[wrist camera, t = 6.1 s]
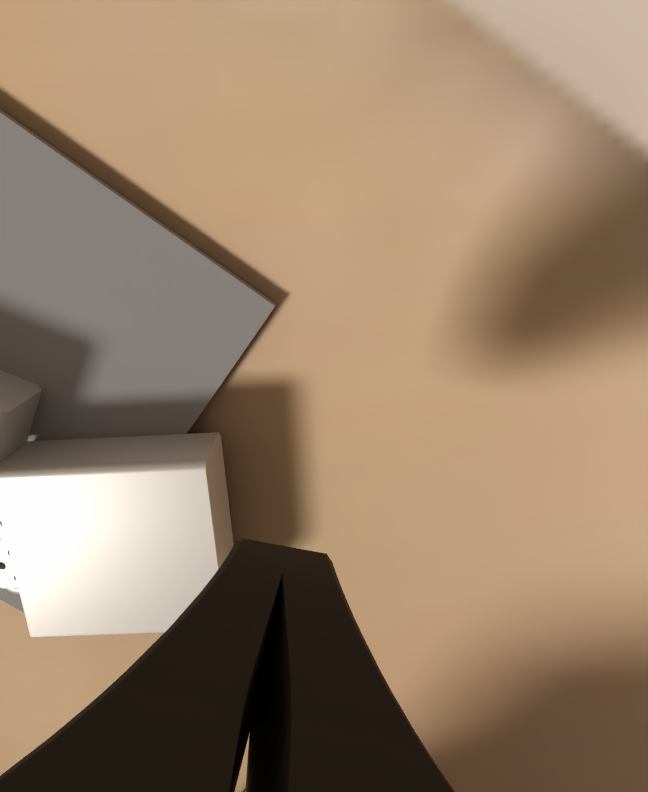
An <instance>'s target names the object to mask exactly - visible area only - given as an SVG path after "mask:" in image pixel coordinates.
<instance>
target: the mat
mask: <svg viewBox="0 0 648 792" xmlns="http://www.w3.org/2000/svg"><path fill="white" fill-rule="evenodd" d="M275 306H276V303H274V302H273V301H272V300H270V299H269V298H267V297H266V296H265V295H263V294H262V293H260V292H259V291H257V290H256V289H255V288H253V287H252V286H250V285H249V284H248V283H246V282H245V281H243V280H242V279H240V278H239V277H238V276H236V275H235V274H233V273H232V272H231V271H229V270H228V269H226V268H225V267H223V266H222V265H221V264H219V263H218V262H216V261H215V260H214V259H212V258H211V257H209V256H208V255H206V254H205V253H204V252H202V251H201V250H199V249H198V248H197V247H195V246H194V245H192V244H191V243H189V242H188V241H187V240H185V239H184V238H182V237H181V236H180V235H178V234H177V233H175V232H174V231H172V230H171V229H170V228H168V227H167V226H165V225H164V224H163V223H161V222H160V221H158V220H157V219H155V218H154V217H153V216H151V215H150V214H148V213H147V212H146V211H144V210H143V209H141V208H140V207H138V206H137V205H136V204H134V203H133V202H131V201H130V200H128V199H127V198H126V197H124V196H123V195H121V194H120V193H119V192H117V191H116V190H114V189H113V188H111V187H110V186H109V185H107V184H106V183H104V182H103V181H102V180H100V179H99V178H97V177H96V176H94V175H93V174H92V173H90V172H89V171H87V170H86V169H85V168H83V167H82V166H80V165H79V164H77V163H76V162H75V161H73V160H72V159H70V158H69V157H68V156H66V155H65V154H63V153H62V152H60V151H59V150H58V149H56V148H55V147H53V146H52V145H51V144H49V143H48V142H46V141H45V140H43V139H42V138H41V137H39V136H38V135H36V134H35V133H34V132H32V131H31V130H29V129H28V128H26V127H25V126H24V125H22V124H21V123H19V122H18V121H17V120H15V119H14V118H12V117H11V116H9V115H8V114H7V113H5V112H4V111H2V110H1V109H0V370H1V371H4V372H6V373H9V374H11V375H14V376H17V377H19V378H22V379H25V380H27V381H30V382H32V383H35V384H38V385H39V387H40V388H41V389H42V391H41V395H40V398H39V402H38V406H37V409H36V413H35V416H34V420H33V423H32V427H31V430H30V434H29V437H28V441H41V440H63V439H84V438H106V437H128V436H149V435H171V434H187V433H188V431H189V430H190V428H191V427H192V425H193V424H194V422H195V421H196V420H197V418H198V417H199V415H200V414H201V412H202V411H203V410H204V408H205V407H206V405H207V404H208V402H209V401H210V399H211V398H212V397H213V395H214V394H215V392H216V391H217V389H218V388H219V386H220V385H221V384H222V382H223V381H224V379H225V378H226V376H227V375H228V374H229V372H230V371H231V369H232V368H233V366H234V365H235V363H236V362H237V361H238V359H239V358H240V356H241V355H242V353H243V352H244V350H245V349H246V348H247V346H248V345H249V343H250V342H251V340H252V339H253V338H254V336H255V335H256V333H257V332H258V330H259V329H260V327H261V326H262V325H263V323H264V322H265V320H266V319H267V317H268V316H269V314H270V313H271V312H272V310H273V309H274V307H275ZM0 599H1V600H3V601H4V602H6V603H8V604H10V605H12V606H14V607H15V608H17V609H19V610H21V611H23V612H24V608H23V604H22V601H21V597H20V594H15V593H12V592H9V591H8V590H7V589H6V588H1V587H0ZM24 613H25V612H24Z"/></svg>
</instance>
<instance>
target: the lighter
mask: <svg viewBox="0 0 648 792" xmlns="http://www.w3.org/2000/svg"><path fill="white" fill-rule="evenodd" d="M41 391H42V389H41V388H40V387H39V385H38V384H35V383H32V382H30V381H27V380H25V379H22V378H19V377H17V376H14V375H11V374H9V373H6V372H4V371H1V370H0V587H1V588H6V589H7V590H8V591H9V592H12V593H15V594H20V597H21V601H22V604H23V608H24V612H25V616H26V620H27V624H28V628H29V632H30V636H31V637H34V638H44V637H71V636H98V635H125V634H151V633H165V632H166V631H167V630H168V629H169V628H170V626H171V625H172V624H173V623H174V622H175V621H176V620H177V619H178V617H179V616H180V615H181V614H182V613H183V612H184V611H185V609H186V608H187V607H188V606H189V605H190V604H191V603H192V601H193V600H194V599H195V598H196V597H197V596H198V595H199V593H200V592H201V591H202V590H203V589H204V587H205V586H206V585H207V584H208V582H209V581H210V580H211V578H212V577H213V576H214V575H215V573H216V572H217V571H218V569H219V568H220V566H221V565H222V564H223V562H224V561H225V559H226V557H227V556H228V554H229V553H230V551H231V549H232V547H233V545H234V543H233V535H232V526H231V518H230V509H229V500H228V492H227V483H226V475H225V466H224V457H223V449H222V440H221V435H220V434H219V432H214V433H192V434H171V435H149V436H128V437H106V438H84V439H63V440H41V441H28V437H29V434H30V430H31V427H32V423H33V420H34V416H35V413H36V409H37V406H38V402H39V398H40V395H41Z"/></svg>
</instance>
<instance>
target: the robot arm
mask: <svg viewBox="0 0 648 792" xmlns="http://www.w3.org/2000/svg"><path fill="white" fill-rule="evenodd" d="M249 732H250V736H249ZM248 736H249V750H248V764H247V779H246V791H245V792H454V790H453V789H452V787H451V786H450V785H449V783H448V782H447V780H446V779H445V777H444V776H443V774H442V773H441V771H440V770H439V768H438V767H437V765H436V764H435V762H434V761H433V759H432V758H431V756H430V755H429V753H428V752H427V750H426V748H425V747H424V745H423V744H422V742H421V740H420V739H419V737H418V736H417V734H416V732H415V731H414V729H413V728H412V726H411V724H410V722H409V721H408V719H407V717H406V716H405V714H404V712H403V710H402V709H401V707H400V705H399V704H398V702H397V700H396V698H395V697H394V695H393V693H392V691H391V690H390V688H389V686H388V684H387V682H386V680H385V679H384V677H383V675H382V673H381V671H380V669H379V667H378V665H377V663H376V661H375V659H374V657H373V655H372V653H371V651H370V650H369V648H368V646H367V644H366V642H365V640H364V638H363V636H362V634H361V631H360V629H359V627H358V625H357V623H356V621H355V619H354V616H353V614H352V612H351V609H350V607H349V605H348V603H347V600H346V598H345V595H344V593H343V591H342V588H341V586H340V583H339V580H338V578H337V575H336V572H335V569H334V566H333V563H332V561H331V560H330V558H329V557H328V555H327V554H324V553H319V552H313V551H308V550H302V549H297V548H291V547H285V546H280V545H274V544H269V543H263V542H258V541H252V540H246V539H242V540H240V541H239V542H237V543H235V544H234V545H233V547H232V549H231V551H230V553H229V554H228V556H227V557H226V559H225V561H224V562H223V564H222V565H221V566H220V568H219V569H218V571H217V572H216V573H215V575H214V576H213V577H212V578H211V580H210V581H209V582H208V584H207V585H206V586H205V587H204V589H203V590H202V591H201V592H200V593H199V595H198V596H197V597H196V598H195V599H194V600H193V601H192V603H191V604H190V605H189V606H188V607H187V608H186V609H185V611H184V612H183V613H182V614H181V615H180V616H179V617H178V619H177V620H176V621H175V622H174V623H173V624H172V625H171V626H170V628H169V629H168V630H167V631H166V632H165V633H164V634H163V635H162V636H161V637H160V638H159V639H158V640H157V641H156V642H155V643H154V644H153V645H152V646H151V647H150V648H149V649H148V650H147V651H146V652H145V653H144V654H143V655H142V656H141V657H140V658H139V659H138V660H137V661H136V662H135V663H134V664H133V665H132V666H131V667H130V668H129V669H128V670H127V671H126V672H125V673H124V674H123V675H121V676H120V677H119V678H118V679H117V680H116V681H115V682H114V683H113V684H112V685H111V686H110V687H108V688H107V689H106V690H105V691H104V692H103V693H102V694H101V695H100V696H98V697H97V698H96V699H95V700H94V701H93V702H92V703H90V704H89V705H88V706H87V707H86V708H85V709H84V710H82V711H81V712H80V713H79V714H78V715H76V716H75V717H74V718H73V719H72V720H70V721H69V722H68V723H67V724H66V725H64V726H63V727H62V728H61V729H60V730H59V731H57V732H56V733H55V734H54V735H52V736H51V737H50V738H49V739H48V740H46V741H45V742H44V743H42V744H41V745H40V746H38V747H37V748H36V749H35V750H33V751H32V752H31V753H29V754H28V755H27V756H25V757H24V758H23V759H22V760H20V761H19V762H18V763H16V764H15V765H14V766H13V767H11V768H10V769H9V770H7V771H6V772H5V773H3V774H2V775H1V776H0V792H234V791H235V787H236V783H237V779H238V775H239V771H240V768H241V764H242V760H243V756H244V752H245V748H246V744H247V740H248Z"/></svg>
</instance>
